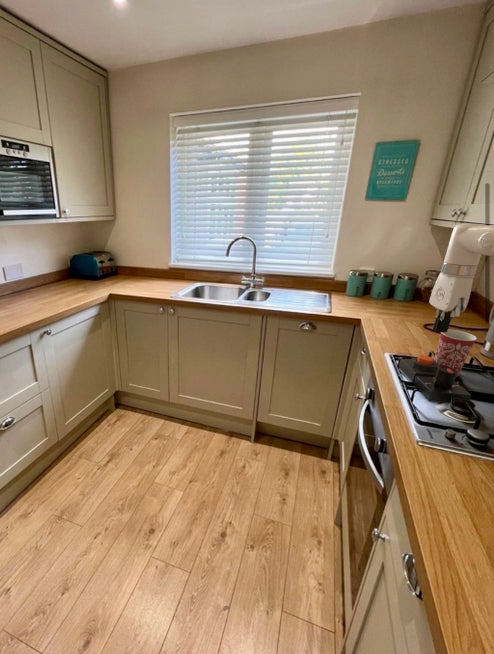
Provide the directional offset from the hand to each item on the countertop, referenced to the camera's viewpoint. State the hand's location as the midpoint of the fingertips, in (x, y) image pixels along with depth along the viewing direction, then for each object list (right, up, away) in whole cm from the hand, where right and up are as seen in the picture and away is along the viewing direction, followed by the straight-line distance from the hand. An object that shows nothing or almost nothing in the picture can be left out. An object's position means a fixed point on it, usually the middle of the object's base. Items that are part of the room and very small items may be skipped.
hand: (439, 331), depth 99 cm
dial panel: (-2, -18, -3) cm, 19 cm away
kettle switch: (-1, -10, +5) cm, 11 cm away
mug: (+10, -13, +11) cm, 19 cm away
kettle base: (-1, -14, +7) cm, 16 cm away
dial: (-2, -16, -4) cm, 16 cm away
